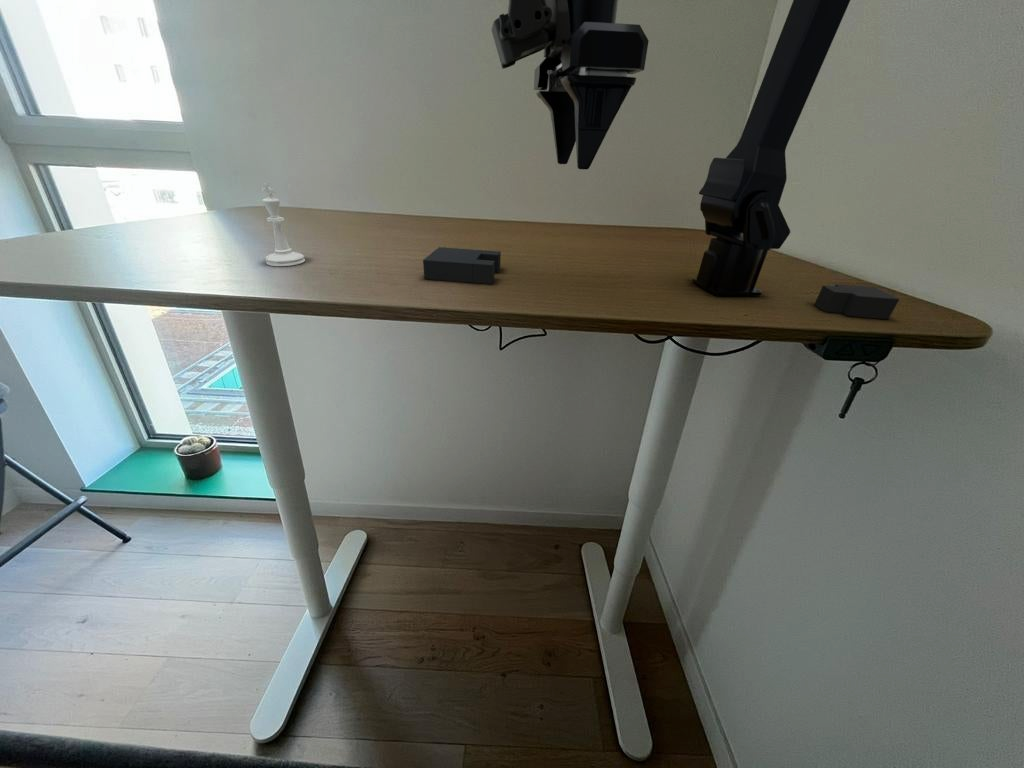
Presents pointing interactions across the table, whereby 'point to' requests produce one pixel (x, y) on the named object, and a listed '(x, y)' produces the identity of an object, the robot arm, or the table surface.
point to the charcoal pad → (462, 265)
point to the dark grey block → (856, 301)
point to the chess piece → (279, 234)
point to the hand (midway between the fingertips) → (571, 166)
